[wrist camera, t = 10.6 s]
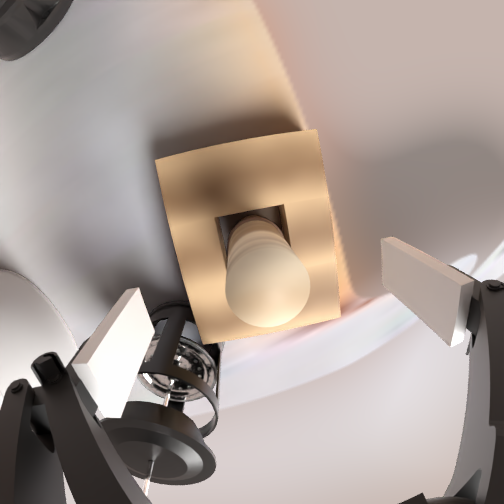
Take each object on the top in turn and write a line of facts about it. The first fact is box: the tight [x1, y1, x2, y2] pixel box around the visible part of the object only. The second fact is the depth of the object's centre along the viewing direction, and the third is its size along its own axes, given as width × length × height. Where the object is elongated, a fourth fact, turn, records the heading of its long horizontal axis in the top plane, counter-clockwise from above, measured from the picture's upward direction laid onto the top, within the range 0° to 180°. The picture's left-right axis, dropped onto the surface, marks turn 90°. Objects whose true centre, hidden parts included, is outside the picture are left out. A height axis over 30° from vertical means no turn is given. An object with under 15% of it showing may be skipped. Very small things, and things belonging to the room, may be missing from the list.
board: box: [155, 129, 341, 345], centre depth 27 cm, size 18×14×4 cm
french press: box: [100, 301, 224, 496], centre depth 20 cm, size 12×9×23 cm
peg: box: [225, 215, 310, 327], centre depth 22 cm, size 5×5×14 cm
